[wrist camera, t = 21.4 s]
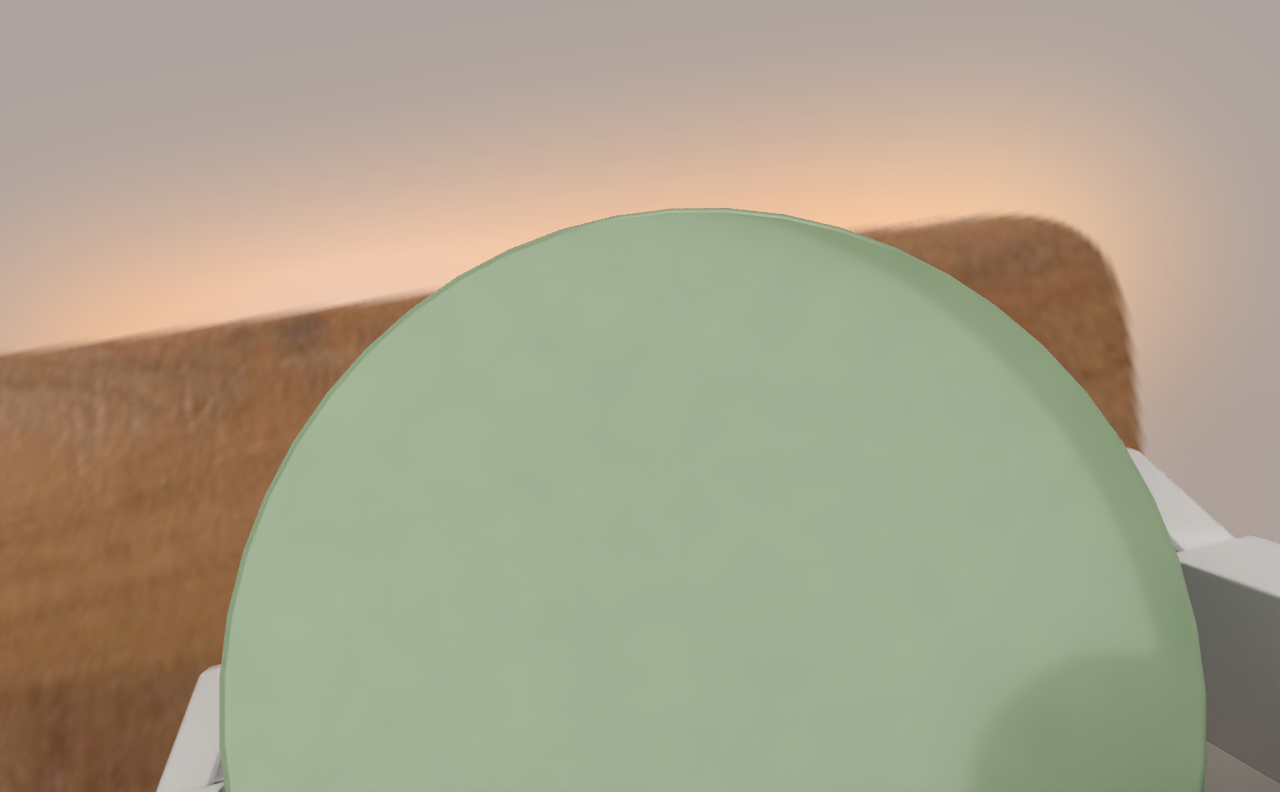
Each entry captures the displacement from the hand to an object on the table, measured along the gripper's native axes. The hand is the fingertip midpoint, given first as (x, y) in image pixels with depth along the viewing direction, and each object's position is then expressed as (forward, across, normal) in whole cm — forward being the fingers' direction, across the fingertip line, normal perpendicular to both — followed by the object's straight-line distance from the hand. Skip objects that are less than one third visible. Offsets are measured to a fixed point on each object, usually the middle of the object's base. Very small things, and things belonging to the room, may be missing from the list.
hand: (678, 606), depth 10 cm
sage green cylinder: (+3, 0, +4) cm, 5 cm away
